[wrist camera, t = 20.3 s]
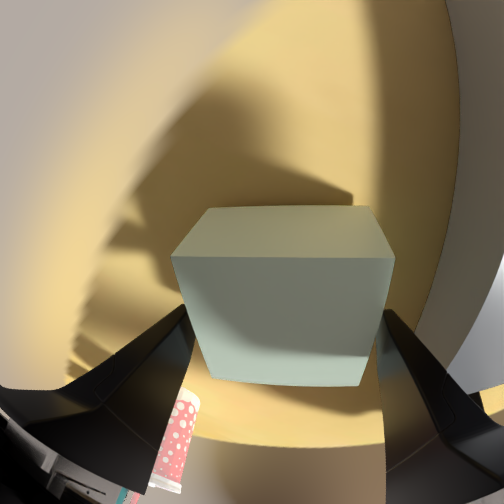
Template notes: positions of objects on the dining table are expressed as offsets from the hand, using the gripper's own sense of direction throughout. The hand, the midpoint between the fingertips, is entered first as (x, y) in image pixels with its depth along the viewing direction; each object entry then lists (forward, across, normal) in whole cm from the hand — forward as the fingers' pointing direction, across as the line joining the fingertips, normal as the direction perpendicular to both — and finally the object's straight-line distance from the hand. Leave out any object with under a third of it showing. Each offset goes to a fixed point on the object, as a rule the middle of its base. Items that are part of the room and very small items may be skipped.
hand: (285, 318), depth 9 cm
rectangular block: (+2, 0, 0) cm, 3 cm away
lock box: (+3, -14, -4) cm, 15 cm away
